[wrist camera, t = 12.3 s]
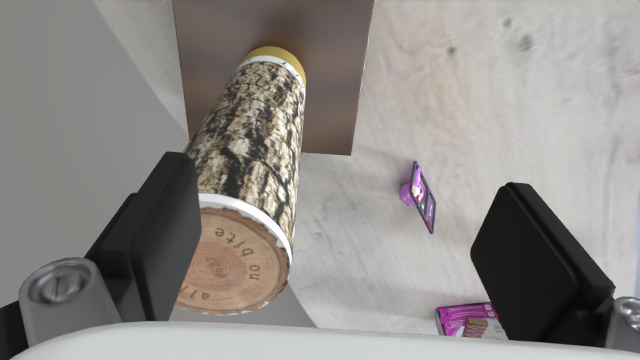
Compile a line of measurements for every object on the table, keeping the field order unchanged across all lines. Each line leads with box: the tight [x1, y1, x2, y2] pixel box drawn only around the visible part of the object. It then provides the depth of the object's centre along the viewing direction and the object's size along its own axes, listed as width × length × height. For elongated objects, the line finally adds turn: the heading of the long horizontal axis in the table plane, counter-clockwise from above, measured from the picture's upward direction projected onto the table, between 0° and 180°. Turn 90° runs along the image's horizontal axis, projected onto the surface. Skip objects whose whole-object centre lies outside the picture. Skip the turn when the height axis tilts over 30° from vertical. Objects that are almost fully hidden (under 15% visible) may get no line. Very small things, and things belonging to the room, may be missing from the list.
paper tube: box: [175, 46, 306, 315], centre depth 26 cm, size 7×7×25 cm
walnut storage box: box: [172, 0, 374, 156], centre depth 41 cm, size 16×18×11 cm
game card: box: [399, 161, 436, 234], centre depth 55 cm, size 7×5×9 cm
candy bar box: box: [436, 302, 509, 340], centre depth 67 cm, size 11×5×16 cm, turn 100°
